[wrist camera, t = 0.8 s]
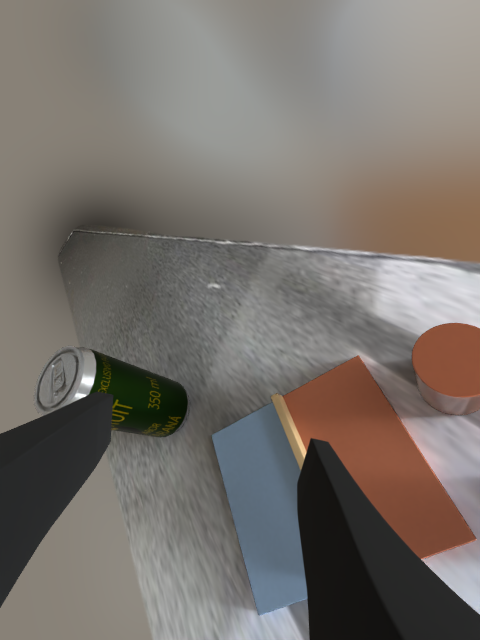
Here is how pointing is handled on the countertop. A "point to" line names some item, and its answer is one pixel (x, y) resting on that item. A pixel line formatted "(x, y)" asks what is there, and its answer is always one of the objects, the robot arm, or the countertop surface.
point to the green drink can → (113, 391)
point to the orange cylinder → (449, 368)
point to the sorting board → (357, 456)
